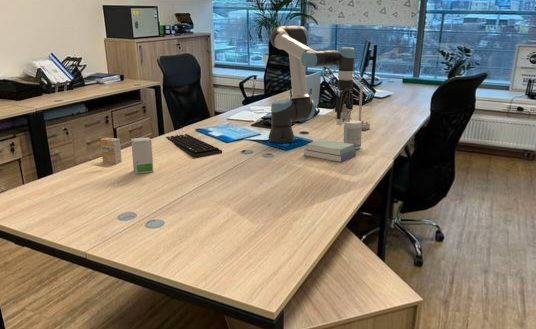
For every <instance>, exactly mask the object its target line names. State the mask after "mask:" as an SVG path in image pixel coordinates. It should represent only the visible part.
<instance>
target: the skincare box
mask: <svg viewBox="0 0 536 329" xmlns="http://www.w3.org/2000/svg"><path fill="white" fill-rule="evenodd" d="M130 140H131V141H130V142H131V153H132V166H133V168H132V169H133V172H134V173H135V174H136V175H138V174H148V173H154V163H153V162H154V161H153V160H154V159H153V158H154V157H153V147H152V145H153V144H152V139H151V138H150V137H136V138H131V139H130Z"/></svg>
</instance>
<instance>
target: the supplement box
mask: <svg viewBox="0 0 536 329" xmlns="http://www.w3.org/2000/svg"><path fill="white" fill-rule="evenodd" d="M99 140H100V149H101V157H102V158H101V159H102V163H103V164H109V165H116V166H117V165H118V164H121V163H122V162H123V160H122V151H121V149H122V148H121V142H120V141H121V139H120V138H115V137H102V138H100V139H99Z"/></svg>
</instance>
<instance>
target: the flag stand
mask: <svg viewBox="0 0 536 329" xmlns="http://www.w3.org/2000/svg"><path fill="white" fill-rule="evenodd" d="M364 87H365V85H364V84H362V83H361V84H359V86H358V88H359V106H358V121H361V123H362V131H364V130H368V129H369V128H371V122H369V121H364V120H362V110H363V109H362V108H363V105H362V104H363V91H364V90H363V89H364Z"/></svg>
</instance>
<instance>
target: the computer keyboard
mask: <svg viewBox="0 0 536 329" xmlns="http://www.w3.org/2000/svg"><path fill="white" fill-rule="evenodd" d="M165 139H167V140H169V141H170V142H172V143H173V145H174V146H175V147H177V148H178V149H180V150H182V151H183V152H185V153H186V154H188V156H191V157H192V158H194V159H197V158H198V159H199V158H204V157H207V156H214V155H219V154H223V150H222V149H219V148H218V147H217V146H214V145H212V144H209V143H208V142H206V141H204V140H201V139H199V138H196V137H194V136H193V135H192V136H191V135H190V134H188V133H185V134H179V135H178V134H176V135H171V136H170V135H169V136H165Z"/></svg>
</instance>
